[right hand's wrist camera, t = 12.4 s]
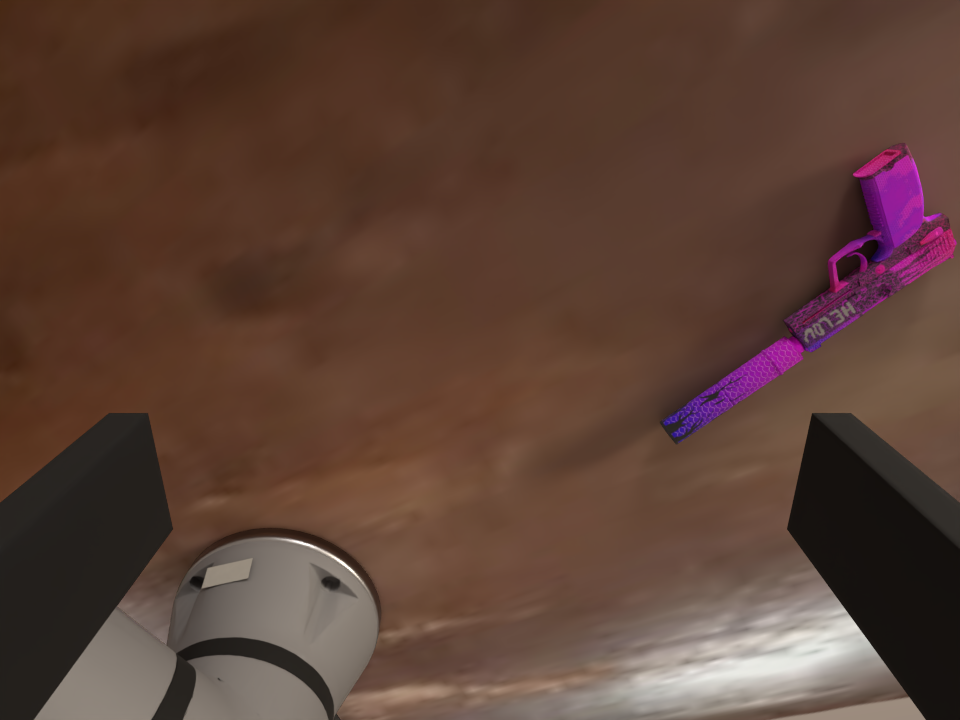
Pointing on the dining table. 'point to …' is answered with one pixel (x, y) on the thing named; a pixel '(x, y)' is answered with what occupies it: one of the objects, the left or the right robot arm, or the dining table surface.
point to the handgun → (842, 284)
